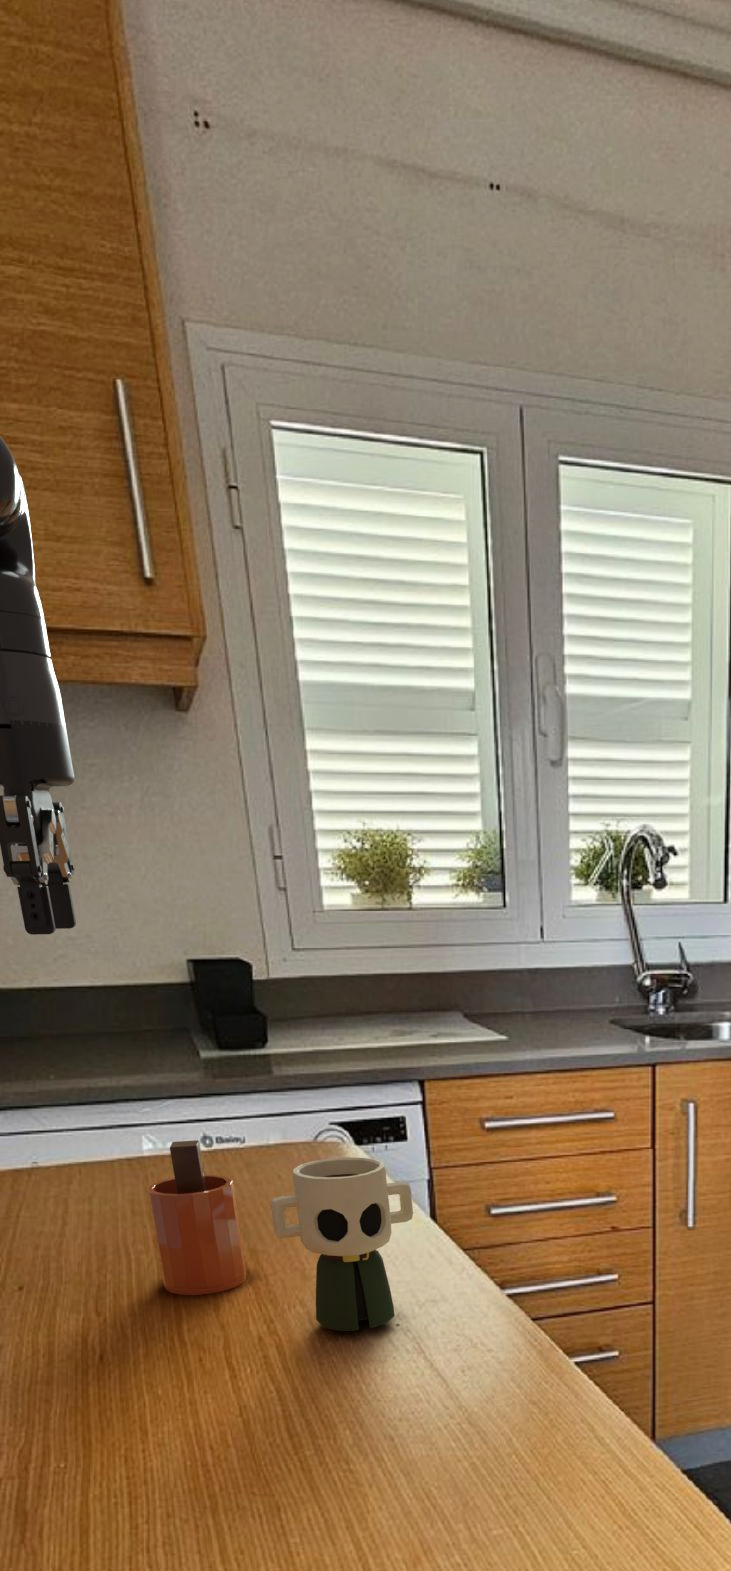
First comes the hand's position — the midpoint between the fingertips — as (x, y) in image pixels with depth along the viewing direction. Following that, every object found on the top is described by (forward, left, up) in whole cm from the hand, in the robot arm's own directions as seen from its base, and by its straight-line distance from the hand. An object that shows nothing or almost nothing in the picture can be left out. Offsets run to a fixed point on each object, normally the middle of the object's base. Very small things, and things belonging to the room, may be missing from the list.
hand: (52, 931), depth 103 cm
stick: (+13, -5, -29) cm, 32 cm away
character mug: (+31, -12, -30) cm, 44 cm away
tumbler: (+13, -5, -30) cm, 33 cm away
